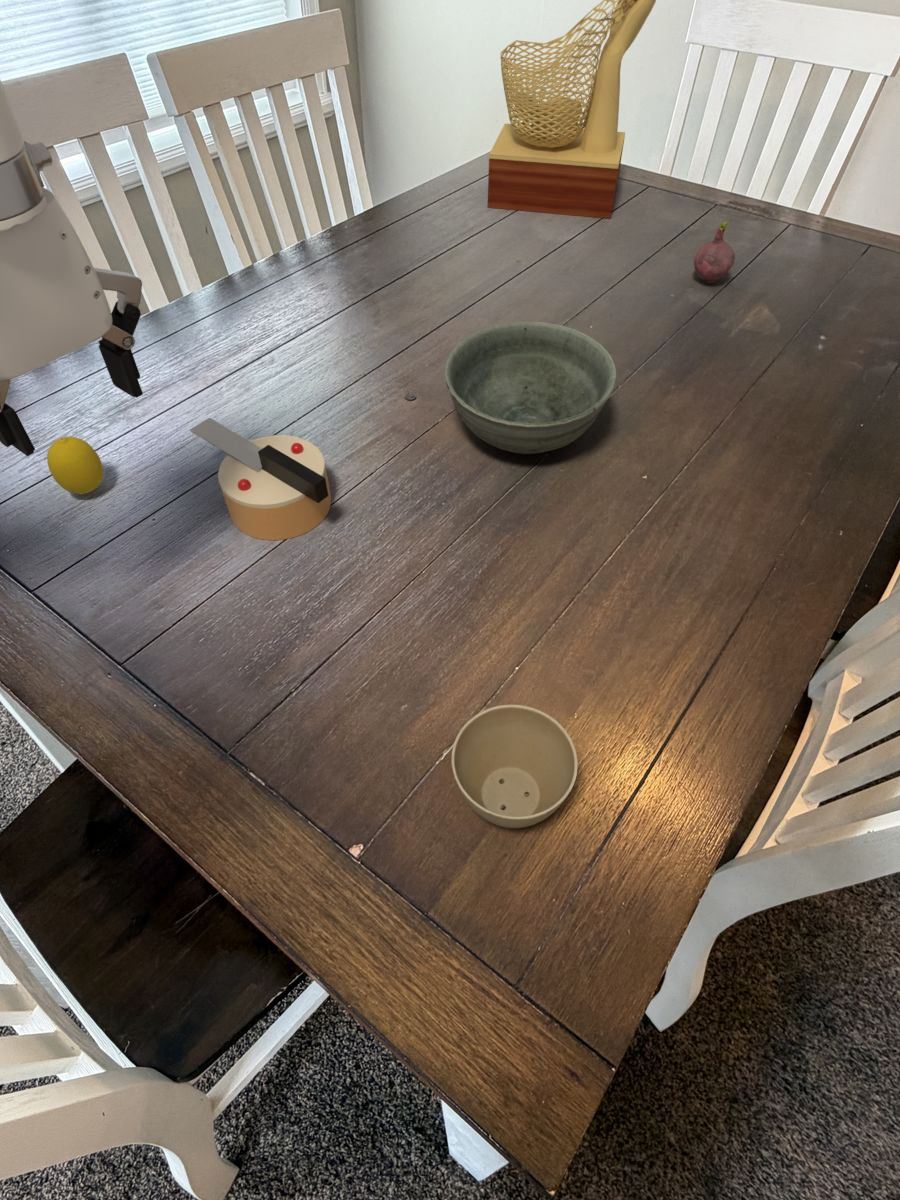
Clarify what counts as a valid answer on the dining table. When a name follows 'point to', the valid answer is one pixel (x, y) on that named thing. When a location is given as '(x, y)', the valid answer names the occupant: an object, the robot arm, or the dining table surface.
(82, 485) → the lemon
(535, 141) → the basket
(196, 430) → the knife
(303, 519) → the cake
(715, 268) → the vegetable
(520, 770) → the flower pot
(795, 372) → the dining table surface
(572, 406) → the bowl
